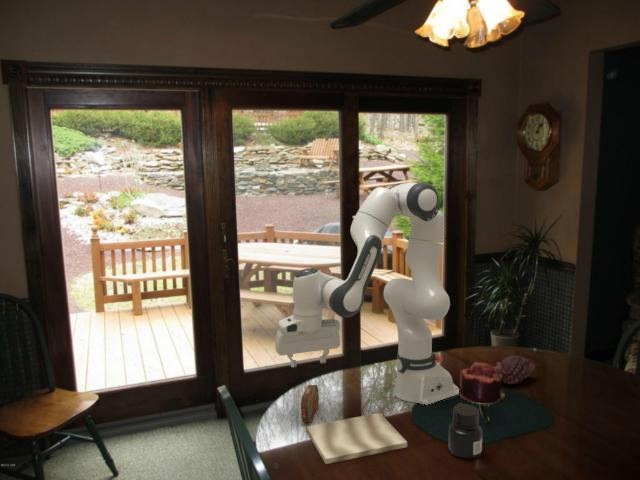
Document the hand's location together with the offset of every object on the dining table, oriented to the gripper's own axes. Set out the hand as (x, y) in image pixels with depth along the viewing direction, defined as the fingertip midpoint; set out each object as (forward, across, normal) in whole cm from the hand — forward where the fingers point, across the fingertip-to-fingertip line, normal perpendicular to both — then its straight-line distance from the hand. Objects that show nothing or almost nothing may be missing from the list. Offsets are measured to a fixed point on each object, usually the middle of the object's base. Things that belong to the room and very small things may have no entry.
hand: (308, 364), depth 163 cm
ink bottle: (+17, -34, +34) cm, 51 cm away
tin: (+17, 0, 0) cm, 17 cm away
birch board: (+17, -8, +18) cm, 26 cm away
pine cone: (+16, -75, +3) cm, 77 cm away
